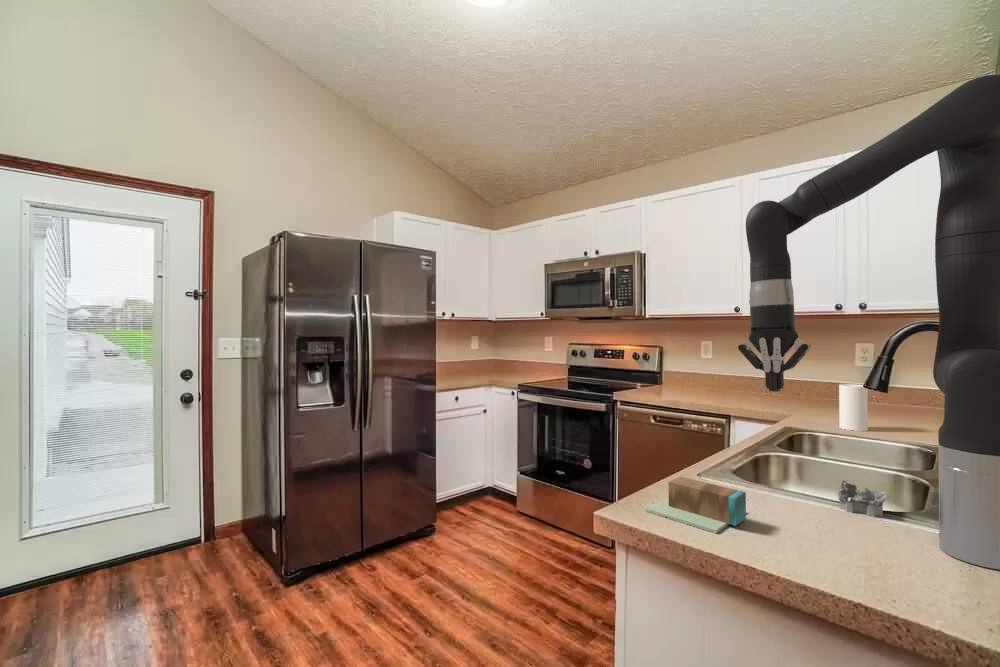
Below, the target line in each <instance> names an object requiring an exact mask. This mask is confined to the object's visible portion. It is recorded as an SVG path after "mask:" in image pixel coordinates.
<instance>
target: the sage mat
mask: <svg viewBox="0 0 1000 667" xmlns="http://www.w3.org/2000/svg"><path fill="white" fill-rule="evenodd" d="M645 512H646V513H649V514H653V515H655V514H656V516H659V515H660V516H659V517H662V516H664V517H663V518H665V517H667V518H666V519H668V518H670V519H669V520H671V519H673V520H672V521H674V520H676V522H678V521H679V522H678V523H681V522H682V523H681V524H684V523H685V524H684V525H687V524H688V526H690V525H691V526H690V527H693V526H694V527H693V528H697V527H698V528H697V529H700V528H701V529H700V530H703V529H704V530H703V531H706V530H707V532H709V531H710V533H712V532H713V534H715V533H716V534H718V533H719V532H721V531H722V530H723V529H724V528H726V527H728V526H729V525H730V524H728V523H724V522H721V521H717V520H714V519H711V518H707V517H704V516H700V515H697V514H694V513H690V512H687V511H683V510H680V509H677V508H673V507H670V506H669V496H667V497H666V498H663V499H662V500H660V501H657V502H656V503H654V504H651V505H649V506H647V507H646V508H645Z"/></svg>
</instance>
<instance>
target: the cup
mask: <svg viewBox="0 0 1000 667" xmlns="http://www.w3.org/2000/svg"><path fill="white" fill-rule="evenodd" d="M863 385H864V384H853V383H852V384H850V383H842V384H841V383H839V385H838V389H839V390H838V397H839V399H838V408H839V409H838V412H839V413H838V414H839V415H838V416H839V420H838V421H839V424H838V425H839V429H841V428H842V430H844V429H846V430H845V431H850V430H854V431H853V432H868V431H869V412H868V411H869V410H868V409H869V408H868V405H869V403H868V402H869V399H868V396H869V394H868V390H869V389H865V388H864V387H863Z"/></svg>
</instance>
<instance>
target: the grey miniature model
mask: <svg viewBox="0 0 1000 667" xmlns="http://www.w3.org/2000/svg"><path fill="white" fill-rule="evenodd" d="M837 497H838V498H837V499H838V501H839V509H840V510H844V511H845V512H846V513H850V512H851V514H852V513H861V514H864V515H865V516H868V517H872V518H876V517H880V518H883V516H884V515H883V510H884V508H883V507H884V505H883V504H884V503H885V502H886V501H885V500H886V497H887V491H879V490H876V489H873V490H869V489H868V488H867V487H866V488H864V489H863V490H858V488H857V486H856V485H855V484H854V483H850V482H849V483H848V482H847V481H846V479H843V480H842V481H841V484H840V487H839V489H838V492H837ZM849 498H850V499H849Z"/></svg>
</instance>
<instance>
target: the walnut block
mask: <svg viewBox="0 0 1000 667" xmlns="http://www.w3.org/2000/svg"><path fill="white" fill-rule="evenodd" d="M667 484H668V485H667V486H668V497H669V506H670V507H673V508H677V509H680V510H683V511H687V512H690V513H694V514H697V515H700V516H704V517H707V518H711V519H714V520H717V521H721V522H724V523H728V524H729V525H731V526H734V527H736V526H738V525H739V524H740V523H741V522H743V521H745V519H747V509H746V508H747V506H746V504H747V502H746V500H747V496H746V491H742V490H740V489H739V490H738V489H733V488H730V487H725V486H723V485H722V486H721V485H717V484H714V483H713V484H712V483H709V482H704V481H700V480H696V479H692V478H688V477H683V476H678V477H675V478H673V479H671V480H669V481H668V483H667Z"/></svg>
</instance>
